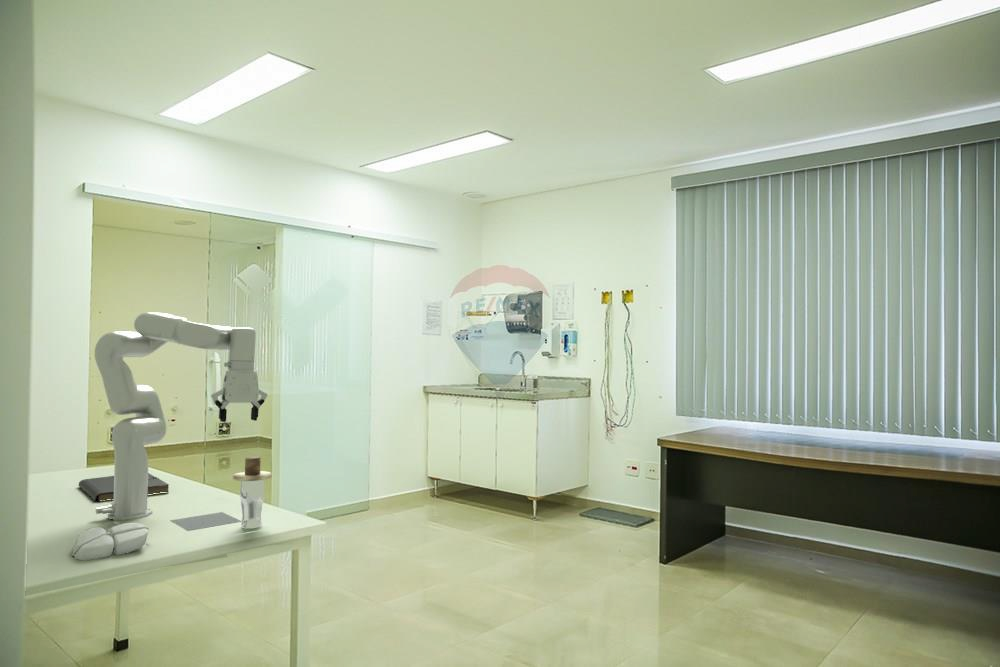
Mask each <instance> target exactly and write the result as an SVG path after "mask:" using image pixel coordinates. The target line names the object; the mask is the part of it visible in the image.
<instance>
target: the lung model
mask: <svg viewBox="0 0 1000 667" xmlns="http://www.w3.org/2000/svg"><path fill="white" fill-rule="evenodd" d="M148 535H149V527H147V526H146V525H144V524H142V523H139V522H125V523H122V524H117V525H115V526H112V527H111V529H110V532H109V531H107V530H106V529H104V528H103V527H101V526H95V527H93V528H89V529H86V530H84V531H83V532H82V533H80V534H79V535H78V537H77V538H76V541H75V545H74V548H73V552H72V555H71V557H72V558H74V559H76V560H77V559H78V561H90V560H91V561H92V559H93V560H98V559H103V557H104V558H109V557H110V556H111V555H112V554H113V551H115V552H114V554H115V553H116V554H115V555H117V554H120V555H123V554H122V553H126V554H128V553H127V552H129V553H131V552H132V551H133V552H135V551H137V550H139V549H140V548H142V547H143V546H145V544H146V542H147V539H148ZM133 552H132V553H133ZM73 556H74V557H73ZM108 556H109V557H108Z"/></svg>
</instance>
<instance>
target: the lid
mask: <svg viewBox="0 0 1000 667" xmlns="http://www.w3.org/2000/svg"><path fill="white" fill-rule="evenodd" d="M244 460H245V461H244V471H242V472H237V473H234V474H232V475H233V476H232V479H233V481H237V482H241V481H258V480H264V481H265V480H269V479H271V478H272V472H270V471H267V470H266V471H264V470H261V460H262V458H261V457H260V456H248V457H245V458H244Z"/></svg>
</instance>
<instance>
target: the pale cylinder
mask: <svg viewBox="0 0 1000 667" xmlns="http://www.w3.org/2000/svg"><path fill="white" fill-rule="evenodd" d="M264 498H265V480H258V481H240V487H239V499H240V506H241V515H242V518H241V521H242V522H240V523H241V524H240V528H241V529H256V528H257V529H258V528H261V527H262V526H263V522H262V521H263V520H262V510H263V509H262V508H263V504H264Z"/></svg>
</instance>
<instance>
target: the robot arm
mask: <svg viewBox="0 0 1000 667" xmlns="http://www.w3.org/2000/svg"><path fill="white" fill-rule="evenodd" d="M133 325H134V329H135V330H134V331H128V330H127V331H125V330H124V331H123V330H120V331H119V330H116V331H110V332H107V333H105V334H103V335H102V336H101V337H100V338H99V339H98V340H97V342H96V344H95V347H94V359H95V362H96V366H97V368H98V370H99V373H100V376H101V379H102V383H103V387H104V391H105V395H106V398H107V402H108V405H109V408H110V410H111V411H112V412H113V414H115V415H119V416H126V415H127V416H128V415H135V416H134V417H128V418H124V419H122V420H120V421H118V422H117V423H116V424H115V425H114V426H113V429H112V432H111V441H112V445H113V452H114V453H113V454H114V466H113V467H114V474H113V476H114V500H113V502H111V501H110V504H108V505H107V506H100V507H99V506H98V507H96V508H95V513H96V514H95V515H99V514H103V515H104V514H105V515H106V514H107V515H106V516H107V517H108V518H109V519H108V518H107V519H108V520H110V519H113V520H112V521H125V520H126V521H128V520H127V519H129V520H136V519H141V518H146V517H148V516H151V515H152V514H153V509H151V508H149V507H148V496H147V495H148V473H149V456H148V452H147V451H146V450H147V449H146V448H145V446H146V445H152V444H157V443H159V442H161V441H162V440H163V439H164V438H165V436H166V434H167V423H166V419H165V414H164V411H163V407H162V404H161V401H160V397H159V395H158V393H157V391H156V390H155V389H154V388H153V387H152V386H150V385H145V384H136V382H135V378H134V376H133V373H132V370H131V367H130V366H129V365H128V364H127V363H126V362H125V360H124V358H143V357H147V356H150V355H152V354H153V353H155V351H157V350H158V349H160V348H161V347H162V346H164V345H165V344H167V343H168V342H169V343H174V344H178V345H181V346H182V345H183V346H185V347H186V346H187V347H191V348H192V347H193V348H198V349H203V350H219V351H220V350H221V351H222V350H223V351H225V350H226V351H227V350H229V351H228V361H227V362H224V364H223V366H224V367H225V368H227V369H228V370H226V371H225V374H224V379H223V383H222V389H220V390H218V391H215V392H214V393H212V394H211V395H210V397H211V399H212V401H213V403H214V405H215V406H216V407H217V408H218V410H219V411H218V419H219V421H220V422H222V423H225V422H227V413H228V412H227V411H228V409H226V407H227V406H229V404H231V403H232V404H242V403H243V404H245V403H249V404H251V405H252V406H251V408H250V409H251V410H250V420H251V421H257V420H258V418H259V410H260V408H261V406H262V405H263V404H264V403H265V400H266V399H267V397H268V393H267V392H264V391H263V390H260V389H259V376H258V372H257V371H256V370H255V356H256V355H255V354H256V338H257V337H256V334H257V332H256V330H255V329H254V328H252V327H241V326H240V327H239V326H237V327H232V326H224V325H214V324H213V325H212V324H211V325H210V324H204V323H197V322H193V321H190V320H189V319H188V318H186V317H182V316H176V315H173V314H170V313H165V312H164V313H163V312H153V311H148V312H143V313H140V314H139V315H137V317H136V318H135V320H134V323H133ZM220 396H221V401H220V400H219V397H220ZM259 396H260V398H259Z"/></svg>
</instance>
